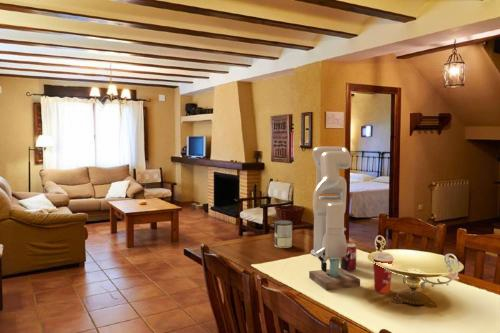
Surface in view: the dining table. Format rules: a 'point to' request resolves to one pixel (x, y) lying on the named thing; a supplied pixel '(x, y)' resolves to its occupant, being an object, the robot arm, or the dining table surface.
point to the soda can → (351, 258)
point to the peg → (334, 267)
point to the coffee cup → (382, 273)
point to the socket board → (334, 279)
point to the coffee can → (283, 234)
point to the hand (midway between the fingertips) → (334, 270)
